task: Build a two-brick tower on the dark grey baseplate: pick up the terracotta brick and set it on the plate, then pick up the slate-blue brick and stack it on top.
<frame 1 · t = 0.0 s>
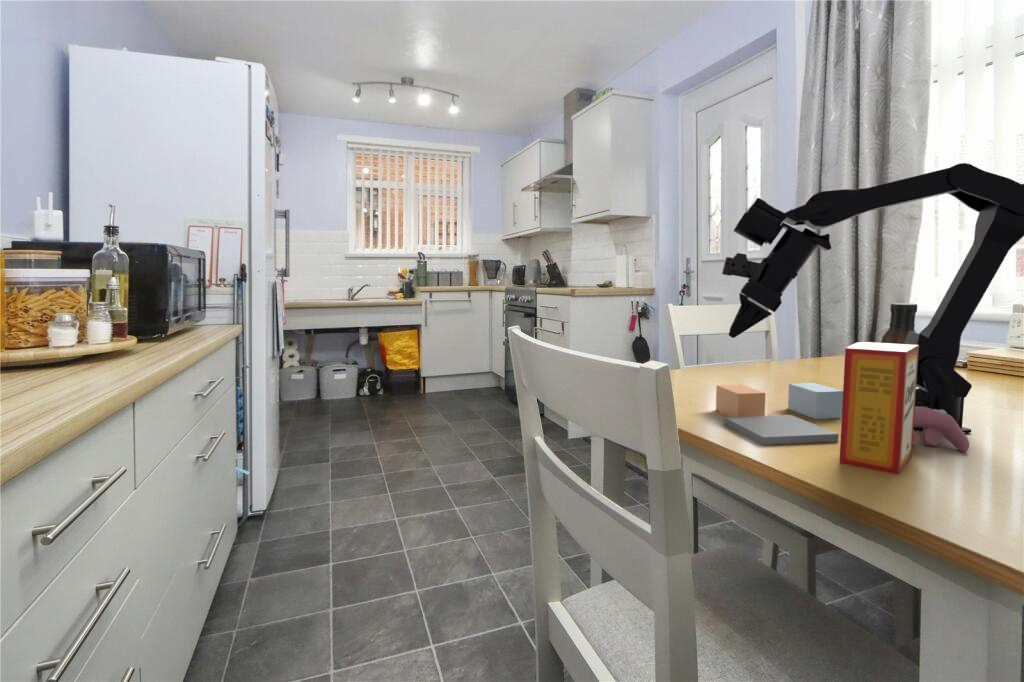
hand: (731, 334, 97), 15 cm above the table, tool tilted 35°, fingers open, 9 cm apart
brick top: (813, 413, 98), on the table
brick bottom: (739, 415, 98), on the table
sauce bottle: (895, 407, 102), on the table
baking soda box: (875, 460, 72), on the table
baseplate: (777, 432, 86), on the table
video game controller: (921, 448, 77), on the table
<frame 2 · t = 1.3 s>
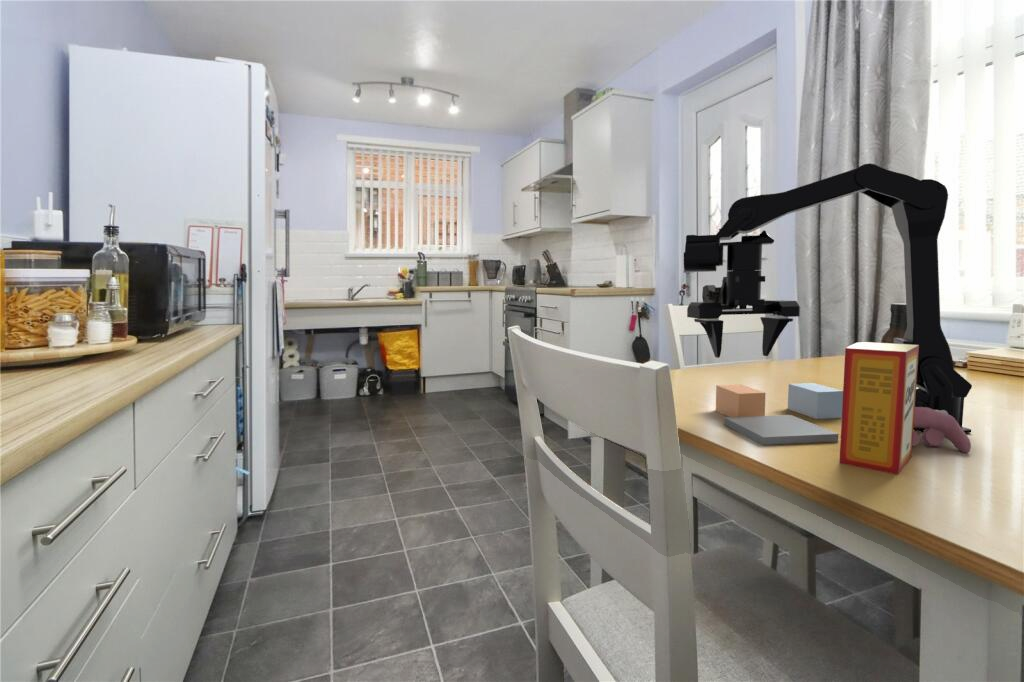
hand: (741, 356, 97), 11 cm above the table, tool pointing down, fingers open, 9 cm apart
nothing on the table moved.
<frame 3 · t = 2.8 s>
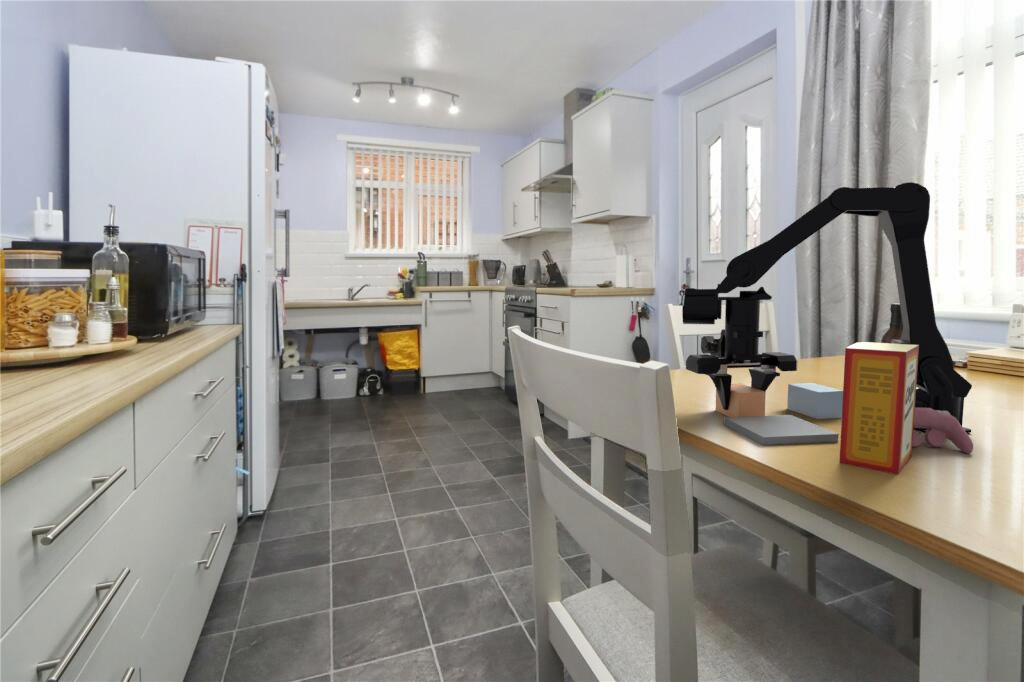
hand: (739, 409, 98), 1 cm above the table, tool pointing down, fingers closed on brick bottom, 5 cm apart
brick bottom: (739, 414, 98), on the table, touching gripper
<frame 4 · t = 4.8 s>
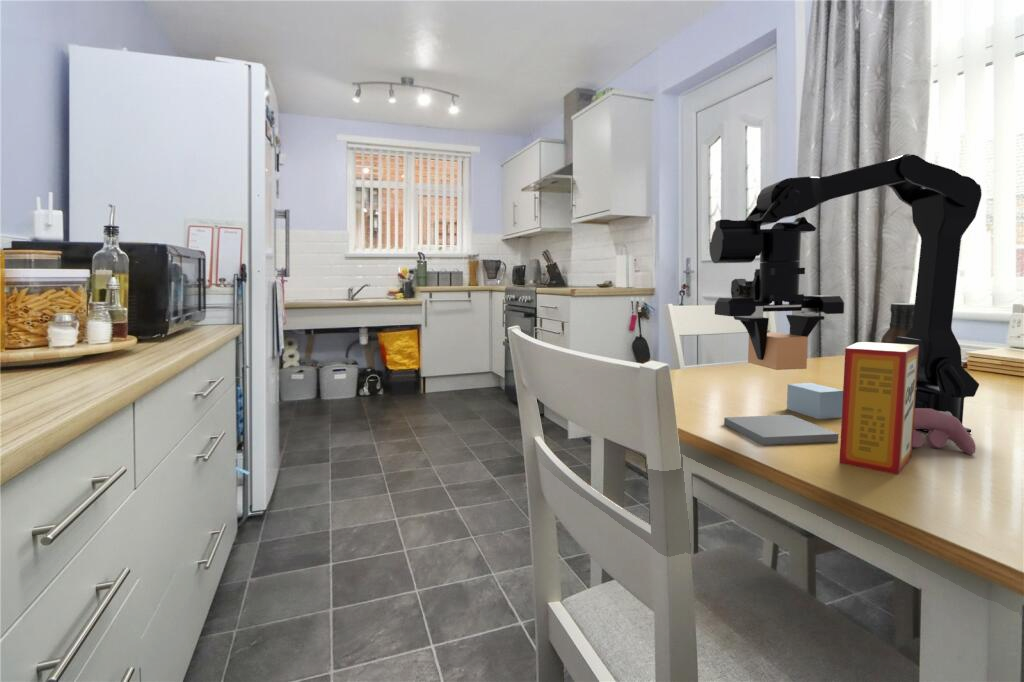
hand: (776, 359, 86), 12 cm above the table, tool pointing down, fingers closed on brick bottom, 5 cm apart
brick bottom: (776, 365, 86), point 11 cm above the table, touching gripper
when the fingers open (3 cm above the table, at t = 6.9 s): brick bottom drops 1 cm, resting on baseplate.
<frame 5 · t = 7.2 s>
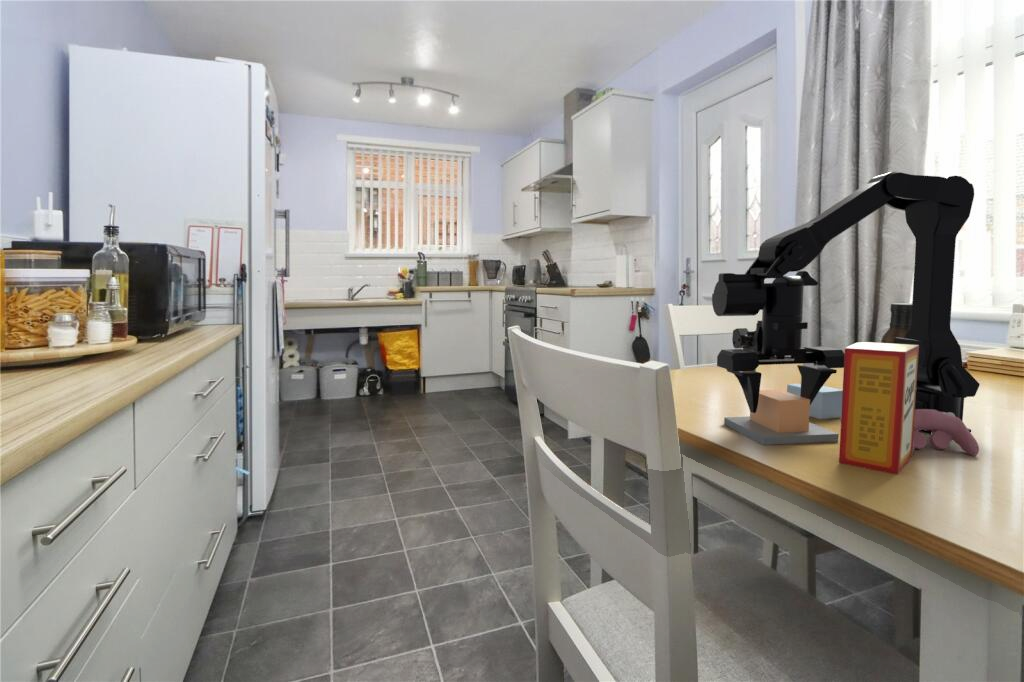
hand: (778, 411, 86), 3 cm above the table, tool pointing down, fingers open, 8 cm apart
brick bottom: (778, 425, 86), point 1 cm above the table, touching baseplate
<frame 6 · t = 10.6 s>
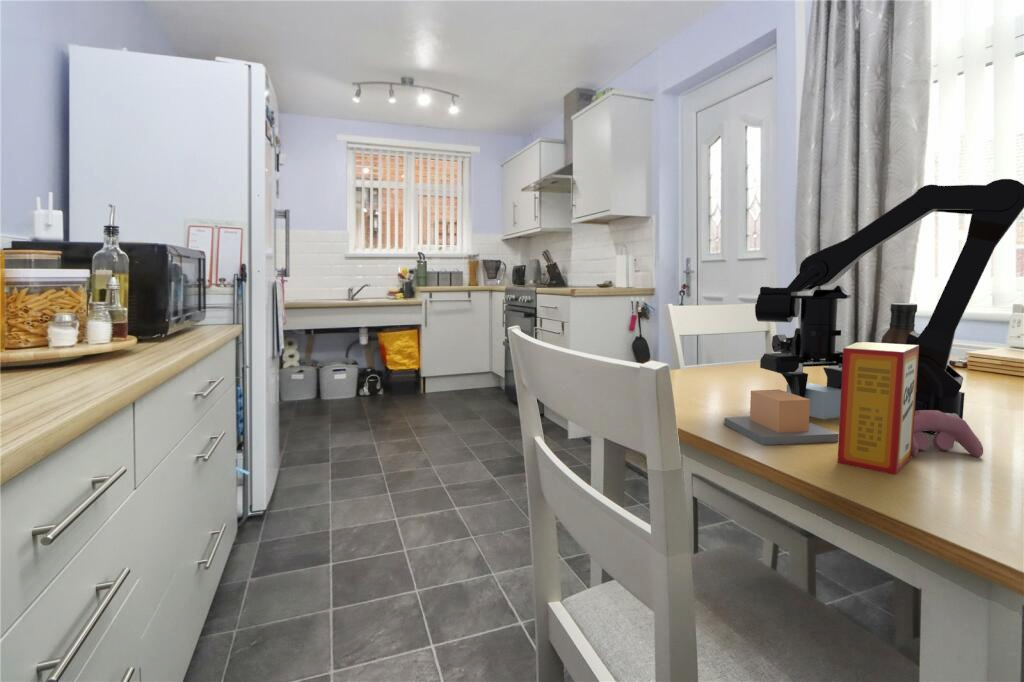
hand: (814, 407, 98), 1 cm above the table, tool pointing down, fingers closed on brick top, 6 cm apart
brick top: (813, 413, 98), on the table, touching gripper
when the fingers open (8 cm above the table, at t = 14.5 s): brick top drops 1 cm, resting on brick bottom.
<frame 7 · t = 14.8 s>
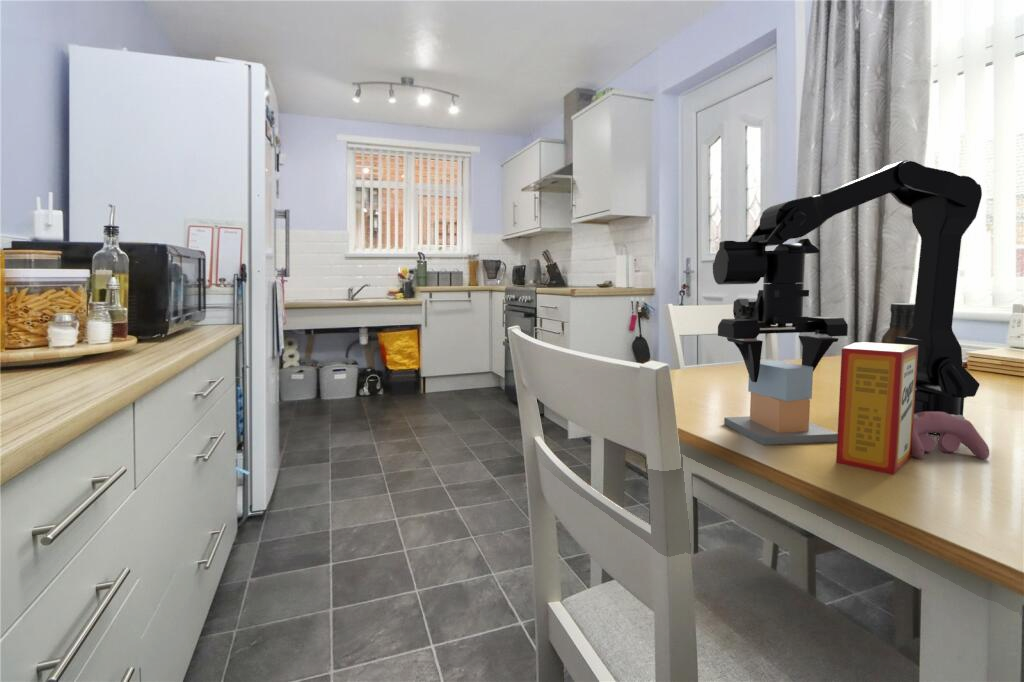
hand: (779, 380, 85), 8 cm above the table, tool pointing down, fingers open, 8 cm apart
brick top: (778, 394, 85), point 6 cm above the table, touching brick bottom
brick bottom: (777, 425, 86), point 1 cm above the table, touching baseplate, brick top
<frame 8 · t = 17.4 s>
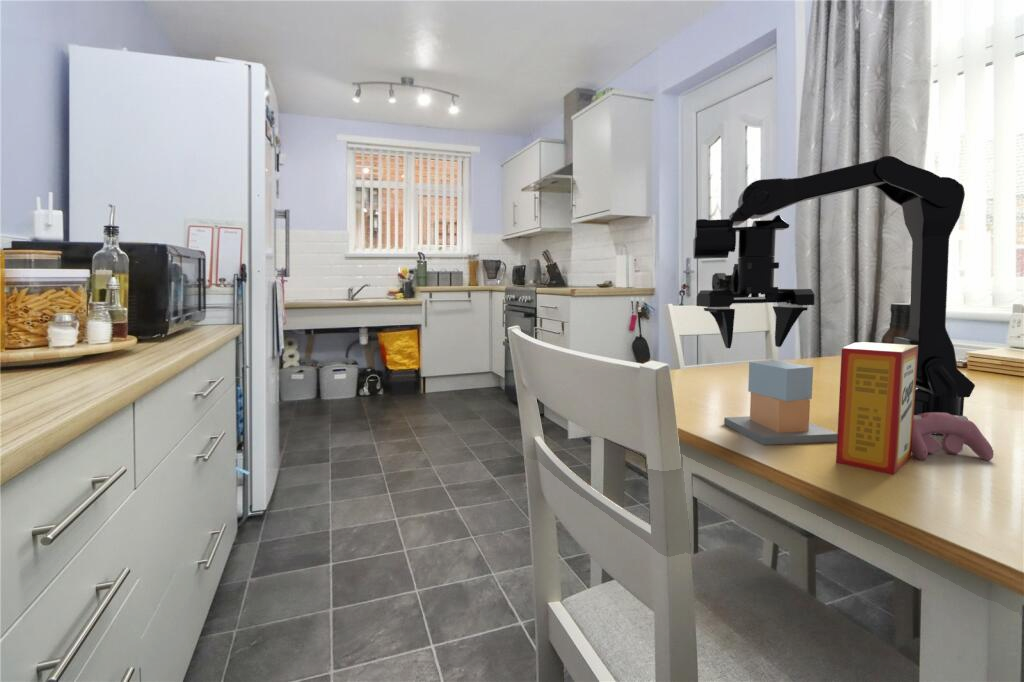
hand: (753, 347, 92), 13 cm above the table, tool pointing down, fingers open, 9 cm apart
at the end: brick bottom inside the target area on the baseplate (0.0 cm from its centre), point 1.2 cm above the baseplate's base; brick top 0.1 cm off-centre on the brick bottom, point 5.0 cm above the brick bottom's base; brick top tilted 0° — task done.
